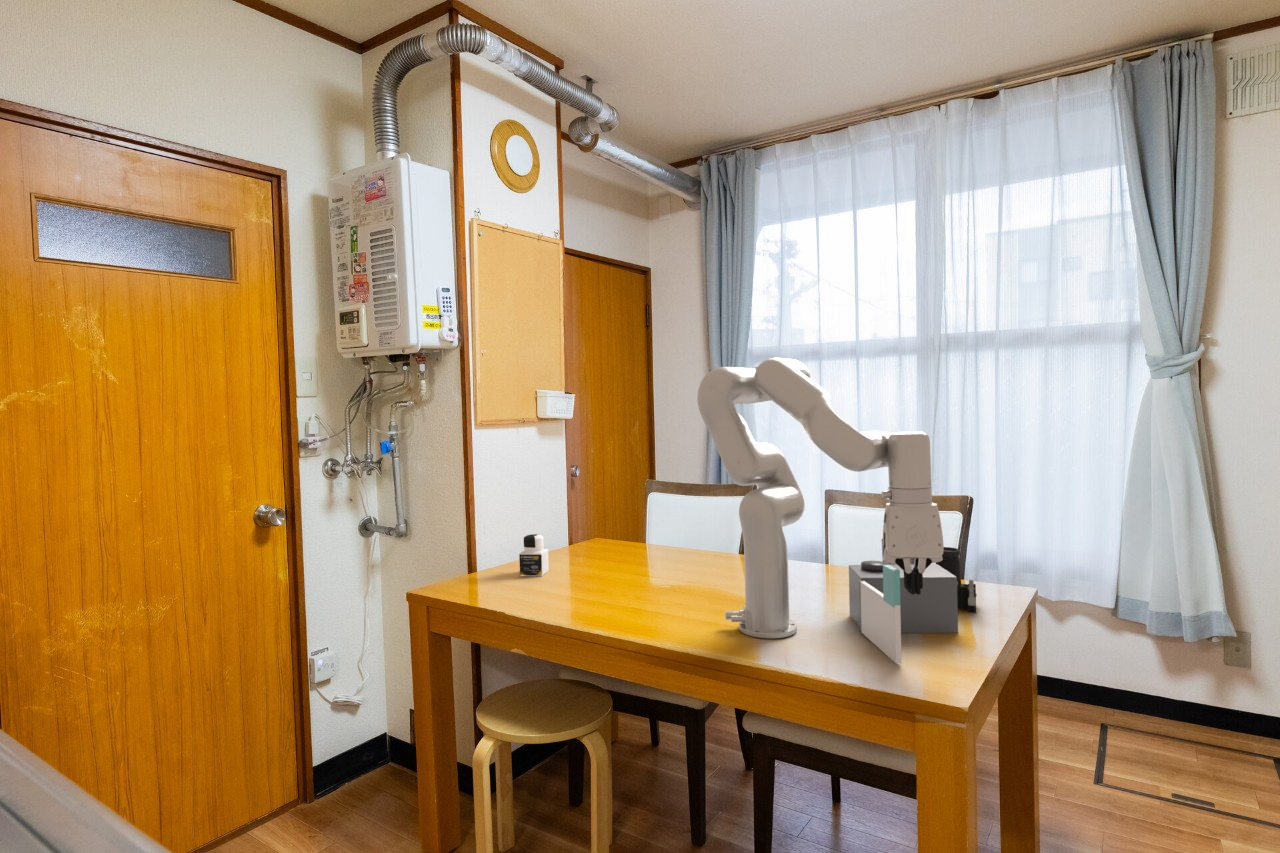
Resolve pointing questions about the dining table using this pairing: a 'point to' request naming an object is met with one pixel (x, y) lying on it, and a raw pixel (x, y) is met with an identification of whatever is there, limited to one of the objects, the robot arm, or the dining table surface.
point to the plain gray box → (912, 597)
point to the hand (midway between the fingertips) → (913, 592)
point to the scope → (959, 579)
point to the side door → (882, 613)
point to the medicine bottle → (534, 556)
